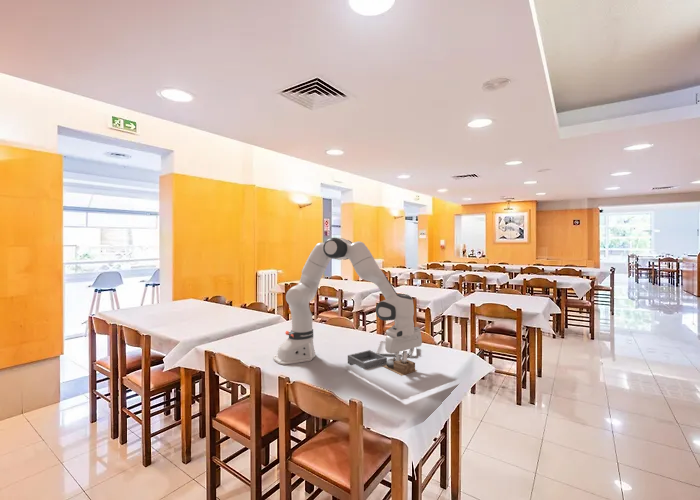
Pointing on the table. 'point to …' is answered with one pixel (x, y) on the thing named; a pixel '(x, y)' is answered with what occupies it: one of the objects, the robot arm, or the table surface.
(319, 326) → the table surface
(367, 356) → the tray
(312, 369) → the table surface
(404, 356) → the lock pin
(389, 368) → the pulley bracket
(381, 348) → the salad plate
